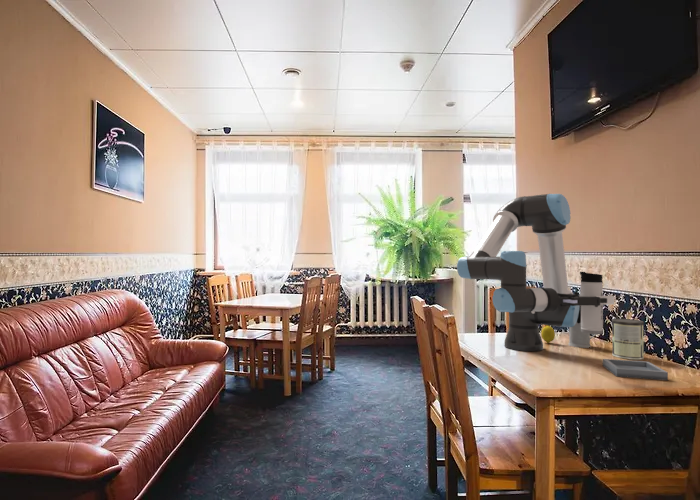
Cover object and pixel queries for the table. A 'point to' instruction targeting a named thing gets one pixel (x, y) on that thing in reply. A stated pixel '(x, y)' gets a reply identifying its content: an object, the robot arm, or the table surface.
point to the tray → (635, 369)
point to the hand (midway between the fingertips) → (604, 299)
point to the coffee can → (627, 339)
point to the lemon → (548, 334)
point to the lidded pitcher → (579, 335)
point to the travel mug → (590, 313)
